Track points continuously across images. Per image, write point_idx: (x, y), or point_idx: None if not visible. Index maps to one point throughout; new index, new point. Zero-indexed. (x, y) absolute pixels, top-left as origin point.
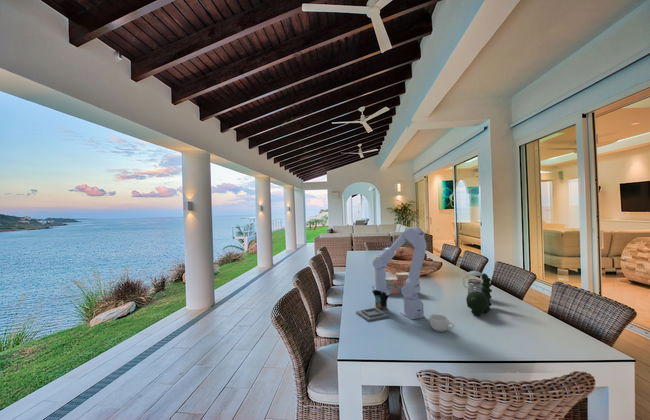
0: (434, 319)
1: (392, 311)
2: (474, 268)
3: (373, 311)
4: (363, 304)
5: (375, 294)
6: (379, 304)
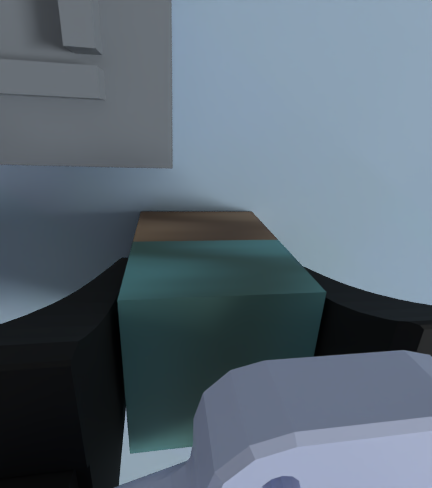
0: None
1: (22, 313)
2: None
3: (15, 9)
4: (421, 121)
5: (342, 315)
6: (148, 235)
